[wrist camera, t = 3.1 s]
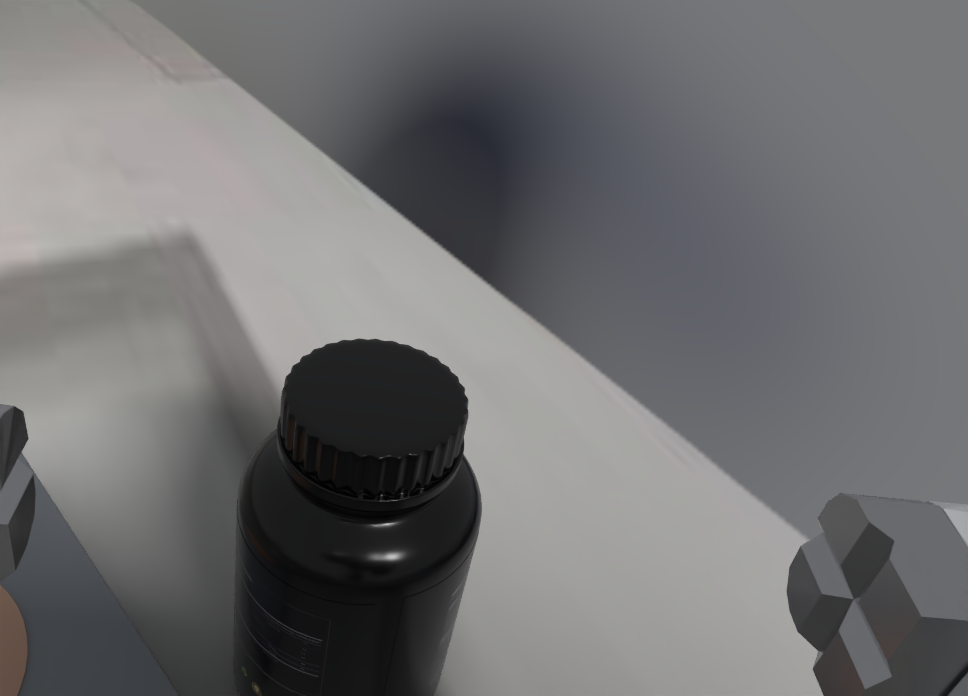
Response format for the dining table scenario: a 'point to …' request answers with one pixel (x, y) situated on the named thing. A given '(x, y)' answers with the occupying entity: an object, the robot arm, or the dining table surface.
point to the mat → (68, 622)
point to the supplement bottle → (355, 527)
